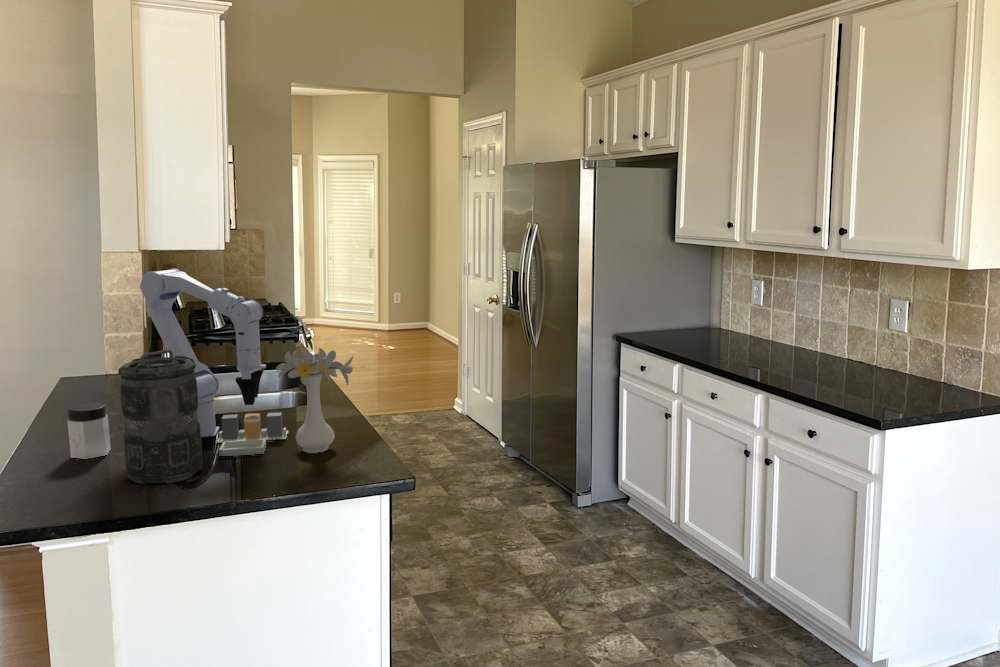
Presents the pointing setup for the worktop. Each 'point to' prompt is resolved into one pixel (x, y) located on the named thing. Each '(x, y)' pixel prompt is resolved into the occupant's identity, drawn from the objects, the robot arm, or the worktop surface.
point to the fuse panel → (233, 434)
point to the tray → (242, 447)
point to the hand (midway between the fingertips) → (251, 400)
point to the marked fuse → (252, 425)
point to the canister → (160, 418)
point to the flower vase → (314, 394)
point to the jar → (88, 430)
